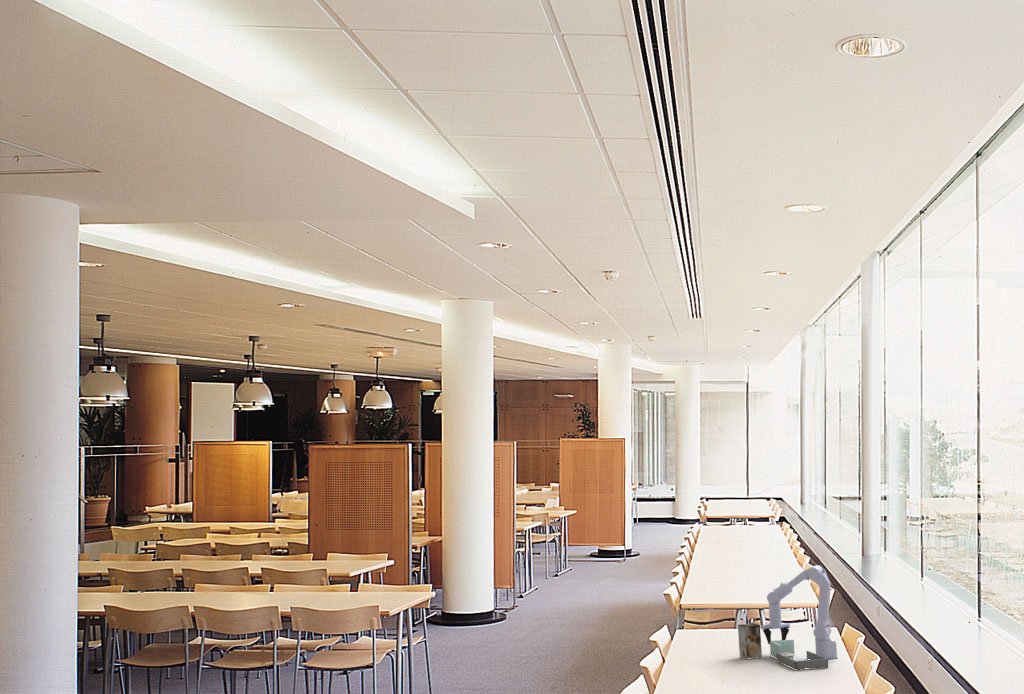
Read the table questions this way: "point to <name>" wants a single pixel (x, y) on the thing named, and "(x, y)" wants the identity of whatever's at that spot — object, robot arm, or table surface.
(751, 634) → the coffee box
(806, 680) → the table surface
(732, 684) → the table surface
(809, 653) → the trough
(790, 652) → the l-shaped corner panel
